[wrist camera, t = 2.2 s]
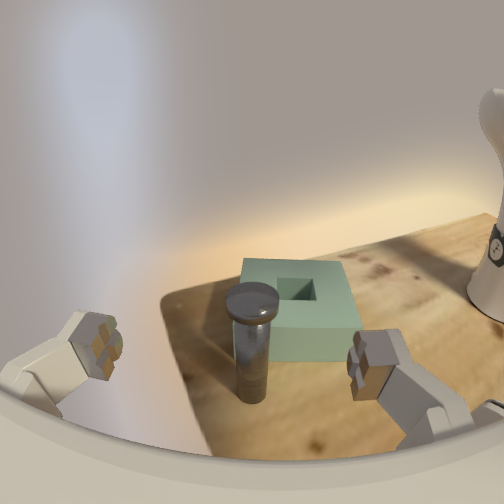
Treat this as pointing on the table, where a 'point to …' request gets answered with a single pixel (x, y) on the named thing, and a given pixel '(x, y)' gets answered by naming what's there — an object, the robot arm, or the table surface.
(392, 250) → the table surface
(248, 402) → the pin
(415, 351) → the table surface
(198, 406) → the table surface
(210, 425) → the table surface
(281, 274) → the socket block
